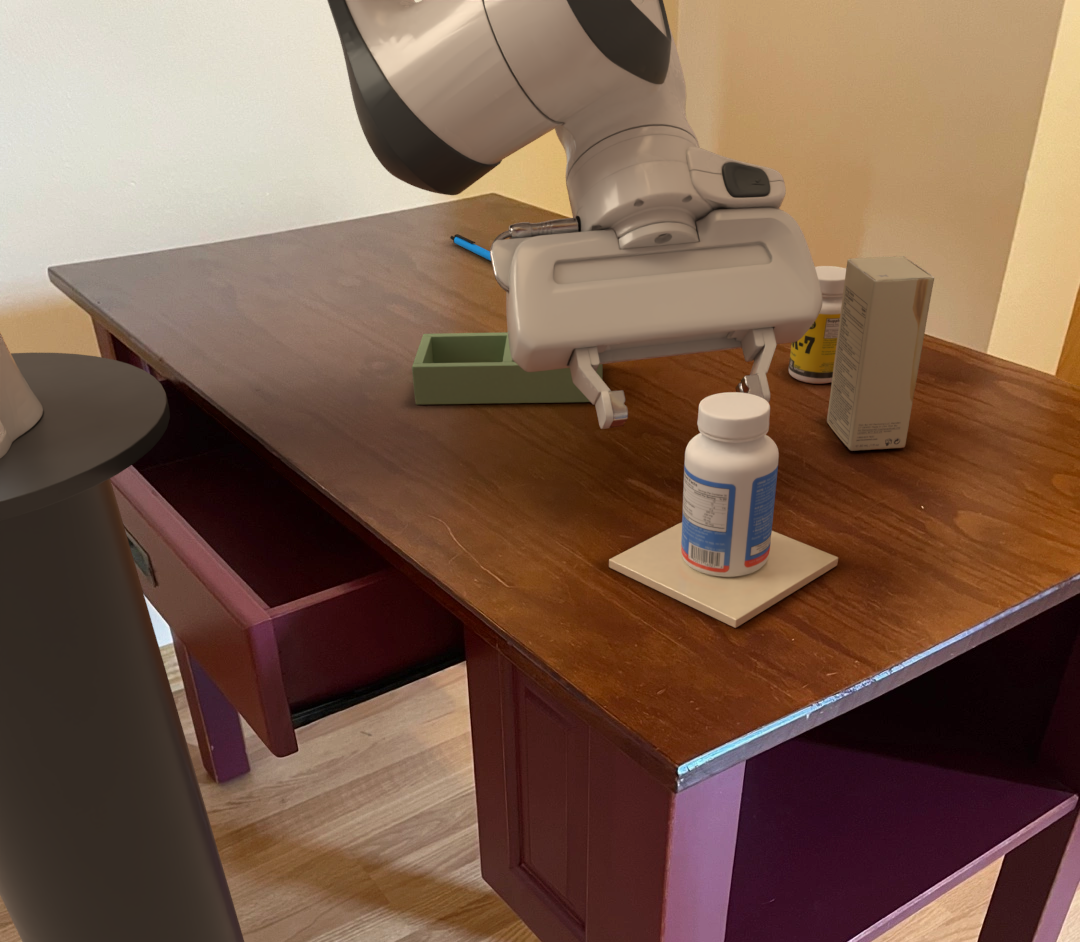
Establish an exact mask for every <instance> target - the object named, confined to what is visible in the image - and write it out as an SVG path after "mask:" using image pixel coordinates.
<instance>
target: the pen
mask: <svg viewBox="0 0 1080 942" xmlns="http://www.w3.org/2000/svg"><path fill="white" fill-rule="evenodd" d="M450 240H452V242H453V243H454V244H455V245H457V246H459V247H461V248H463V249H465V250H467V251H469V252H471V253H473V254H475V255H477V256H479V257H481V258H483V259H485V260H487V261H490V262H491V257H490V250H488V249H486V248H484V247H481V246H480V245H477V244H476V242H475V241H473V240H471V239H469V238H467V237H465V236H464V235H461V234H459V233H458V234H457V233H456V234H454V235H450Z"/></svg>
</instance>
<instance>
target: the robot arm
mask: <svg viewBox="0 0 1080 942" xmlns="http://www.w3.org/2000/svg"><path fill="white" fill-rule="evenodd" d="M326 1H327V4H328V7H329V9H330V13H331V16H332V18H333V22H334V25H335V27H336V31H337V33H338V37H339V41H340V44H341V48H342V49H341V50H342V53H343V58H344V62H345V67H346V72H347V76H348V82H349V88H350V92H351V95H352V101H353V104H354V108H355V109H354V110H355V111H356V115H357V119H358V122H359V124H360V127H361V131H362V132H363V135H364V137H365V140H366V141H367V144H368V145H369V147H370V150H371V151H372V153H373V154H374V156H375V157H376V159H377V160H378V162H379V163H380V164H381V166H382V167H383V168H384V169H385V170H386V171H387V172H388V173H389V174H390V175H392V176H393V177H395V178H396V179H398V180H400V181H401V182H403V183H406V184H408V185H409V186H412V187H415V188H417V189H420V190H423V191H426V192H430V193H434V194H439V195H445V196H458V195H460V194H462V193H463V192H464V191H465V190H467V189H468V188H469V187H471V186H472V185H474V184H475V183H476V182H478V181H479V180H480V179H481V178H483V177H484V176H485V175H487V174H489V172H491V171H492V170H493V169H495V168H497V167H498V166H499V165H500V164H501V163H502V162H503V160H505V159H506V158H508V157H510V156H511V155H513V154H515V153H516V152H518V151H519V150H522V149H523V148H524V147H526V146H528V145H529V144H532V143H533V142H534V141H536V140H538V139H540V138H541V137H543V136H545V135H547V134H548V133H550V132H552V131H553V130H554V131H555V134H556V136H557V139H558V140H559V142H560V144H561V146H562V148H563V151H564V153H565V156H566V166H565V186H566V190H567V195H568V200H569V205H570V211H571V215H572V217H567V218H566V217H565V218H555V219H549V220H545V221H540V222H529V221H521V222H515V223H512V224H510V225H509V226H508V230H505V231H503V232H500V233H499V234H498V235H497V236H496V237H495V239H494V240H493V241H492V243H491V246H490V250H489V251H490V257H491V261H490V262H491V266H492V267H491V268H492V272H493V276H494V279H495V280H496V283H497V284H498V286H499V287H500V288H501V289H502V290H503V291H505V292H506V293H505V313H506V314H505V315H506V328H507V329H506V331H507V332H508V340H509V347H510V353H511V357H512V359H513V361H514V362H515V363H516V364H518V365H519V366H520V367H521V368H522V369H523V370H524V371H526V372H537V371H546V370H555V369H563V368H570V371H571V376H572V381H573V383H574V384H575V385H576V387H577V388H578V389H579V390H580V391H581V392H582V393H583V394H584V395H585V396H586V398H587V399H588V400H589V401H590V402H589V403H591V404H592V405H593V406H594V407H595V410H596V416H597V420H598V425H599V428H600V429H601V430H605V429H606V430H607V429H612V428H621V427H624V426H625V425H626V424H625V423H626V422H628V419H629V410H628V406H627V405H625V403H626V395H625V392H624V390H623V389H620V390H611V389H610V388H609V386H608V385H607V383H605V381H604V380H603V378H602V379H601V378H600V376H599V375H598V374H597V373H596V371H597V368H598V366H599V364H603V365H606V364H615V363H623V362H632V361H633V362H634V361H642V360H651V359H661V358H669V357H675V356H685V355H686V356H687V355H694V354H703V353H704V354H705V353H711V352H713V353H714V352H720V351H721V352H722V351H729V350H730V351H731V350H739V349H742V350H741V351H742V354H743V358H744V361H745V362H746V363H749V362H753V363H752V366H751V370H750V372H749V374H748V375H747V374H746V375H743V377H742V378H741V379H740V382H739V383H738V384H737V385H736V386H735V392H740V393H748V394H753V395H756V396H759V397H761V398H763V399H765V400H766V401H767V402H768V403H769V404H770V402H771V390H770V385H769V382H768V378H767V374H768V372H769V370H770V366H771V363H772V359H773V358H774V354H775V351H776V348H777V345H783V344H792V343H793V342H796V341H798V340H800V339H801V338H802V337H803V336H804V334H805V333H806V332H807V331H808V330H809V329H810V327H811V326H812V324H813V323H814V322H815V320H816V318H817V317H818V315H819V313H820V311H821V308H822V293H821V288H820V284H819V280H818V276H817V273H816V269H815V267H816V266H815V263H814V259H813V256H812V253H811V251H810V248H809V245H808V244H809V243H808V242H807V239H806V237H805V234H804V232H803V230H802V228H801V225H799V223H798V221H797V220H796V219H795V218H794V217H793V216H792V215H791V214H790V213H789V212H787V211H786V210H785V211H784V210H783V209H781V207H782V204H783V202H784V200H785V197H786V191H787V189H786V183H785V180H784V177H783V175H782V174H781V172H780V171H779V170H776V169H774V168H771V167H768V166H763V165H759V164H754V163H750V162H746V161H742V160H737V159H734V158H731V157H727V156H724V155H721V154H718V153H715V152H712V151H710V150H707V149H704V148H702V147H700V144H699V140H698V137H697V135H696V133H695V131H694V130H693V128H692V127H691V125H690V123H689V121H688V118H687V113H686V105H687V104H686V103H687V86H686V81H685V75H684V73H683V68H682V63H681V59H680V56H679V52H678V48H677V45H676V42H675V39H674V36H673V32H672V29H671V26H670V23H669V19H668V15H667V11H666V7H665V3H664V0H420V1H415V0H326ZM11 353H12V352H11V351H10V349H9V347H8V346H7V343H6V340H5V339H4V336H3V334H2V332H1V331H0V458H2V457H3V456H4V455H5V454H6V453H7V452H8V450H9V448H10V446H11V444H12V442H13V441H14V440H15V439H17V438H18V437H19V436H21V435H22V434H24V433H25V432H27V431H28V430H29V429H31V428H32V427H33V426H34V425H35V424H36V423H37V422H38V421H39V420H40V418H41V416H42V414H43V407H42V405H41V403H40V402H39V400H38V399H37V397H36V396H35V394H34V393H33V392H32V390H31V388H30V387H29V385H28V384H27V382H26V381H25V379H24V377H23V375H22V374H21V372H20V370H19V368H18V367H17V365H16V363H15V361H14V359H13V357H12V355H11Z"/></svg>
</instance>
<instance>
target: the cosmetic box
mask: <svg viewBox="0 0 1080 942" xmlns="http://www.w3.org/2000/svg"><path fill="white" fill-rule="evenodd" d="M845 268H846V275H845V283H844V291H843V299H842V306H841V314H840V322H839V329H838V337H837V345H836V353H835V361H834V369H833V377H832V382H831V386H830V393H829V400H828V401H829V402H828V409H827V414H826V415H827V416H826V423H827V424H828V425H829V427H830V428H831V430H832V431H833V432H834V433H835V435H836V436H837V437H838V438H839V440H840V441H841V442H842V443H843V444H844V446H845V447H847V449H848V450H849V451H851V452H853V451H854V452H855V451H871V450H887V449H888V450H889V449H902V448H903V449H904V448H905V447H906V444H907V437H908V432H909V425H910V420H911V414H912V408H913V401H914V397H915V392H916V386H917V379H918V373H919V369H920V362H921V356H922V351H923V344H924V338H925V333H926V327H927V321H928V317H929V316H928V315H929V311H930V304H931V300H932V299H931V297H932V294H933V286H934V284H935V283H934V282H935V276H934V275H932V273H930V272H928V271H927V270H925V268H923V267H921V266H919V264H917V263H915V262H914V261H913V260H910V259H909V258H908V257H906V256H904V255H901V256H900V255H899V256H897V255H896V256H874V257H853V258H852V257H851V258H848V259H847V260H846V267H845Z"/></svg>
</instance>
